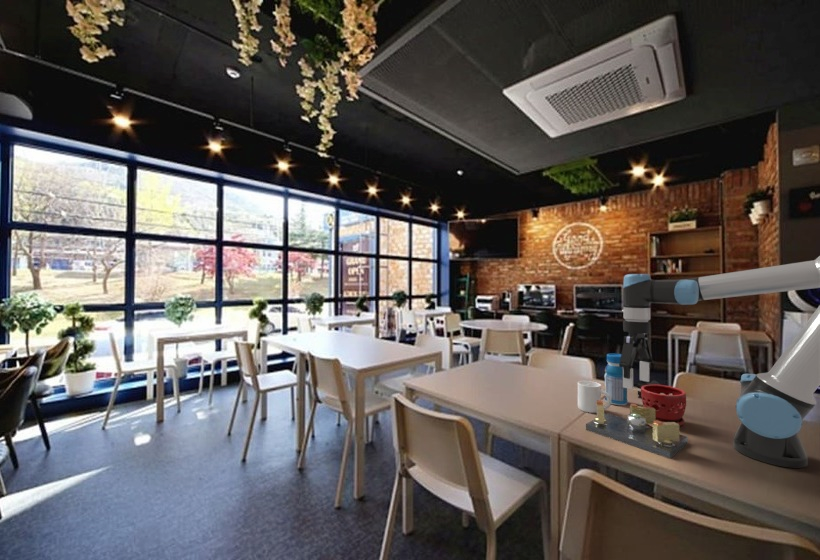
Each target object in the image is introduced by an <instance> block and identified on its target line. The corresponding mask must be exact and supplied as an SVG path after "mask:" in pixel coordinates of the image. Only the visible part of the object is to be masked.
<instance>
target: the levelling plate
mask: <svg viewBox="0 0 820 560" xmlns="http://www.w3.org/2000/svg"><path fill="white" fill-rule="evenodd" d="M604 418H605V419H606V423H605V424H600V423H597V422H595V419H593V420H591V421H589V422H587V423H585V431H588V430H589V431H588V432H591V431H592V433H594V432H595V434H597V435H600V436H602V437H605V438H609V437H610V438H609V439H611V438H613V439H612V440H614V439H615V441H617V440H618V441H617V442H620V441H621V442H620V443H623V442H624V444H626V443H627V444H626V445H629V446H633V447H635V448H639V449H641V450H643V451H646V452H649V453H653V454H655V455H659V456H662V457H664V458H667V459H672V458H673V457H674V456H676V454H677V453H679V451H681V450H682V449H683V448H684V447H685V446H687V445H688V442H689V441H688V440H689V436H687V435H683V434H681V433H679V441H673V444H672V445H666V444H663V443H661V442H657V441H655V440H653V425H651V424H648V426H646V418H645V417H644V416H641V415H640V414H638V413H632V414H630V413H628V414H627V418H624V417H622V416H619V415H614V414H611V413H608V412H607V413H604Z"/></svg>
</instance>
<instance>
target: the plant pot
mask: <svg viewBox="0 0 820 560" xmlns="http://www.w3.org/2000/svg"><path fill="white" fill-rule="evenodd" d="M640 391H641V397H642V399H641V400H642V401H641V402H642V405H643V406H642V407H651V408H654V409H655V421H660V422H675V423H677V424H679V427H681V426H682V425H684V424H685V419H684V418H683V417H684V415H685V411H686V407H687V393H686V392H685V390H682V389H681V388H678V387H674V386H670V385H663V384H660V385H644V386H642V387H641V389H640ZM653 392H656V393H653Z"/></svg>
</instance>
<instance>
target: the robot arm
mask: <svg viewBox="0 0 820 560" xmlns="http://www.w3.org/2000/svg"><path fill="white" fill-rule="evenodd" d="M622 283H623V286H622V289H623V290H622V294H623V295H622V296H623V297H622V298H623V301H622V302H623V303H622V304H623V306H622V307H623V309H622V310H621V312H622V313H623V317H622V319H624V320H623V322H622V327H623V328H622V329H623V332H625V333H628V335H627V336H626V335H625V336H623V343H622V344H623V345H622V350H621V353H620V354H621V359H620V364H619V366H620V367H623V387H624V388H627V390H628V389H629V390H634V368H632V367H633V365H634V361H635V358H636V354H637V353H638V356H639V359H640V361H639V381H647V382H649V381H650V363H653V362H654V360H653V355H652V349H651V345H650V339H649V337H650V336H649V333H651V321H650V320H651V304H665V305H667V304H668V305H681V306H685V305H696V304H697V303H698V302H701V301H707V300H716V299H724V298H726V299H727V298H734V297H744V296H745V297H746V296H755V295H763V294H771V293H772V294H773V293H774V294H775V293H782V292H790V291H801V290H810V289H812V290H813V289H819V288H820V255H819V256H818V257H816V258H815V259H814V260H806V261H800V262H792V263H787V264H781V265H780V264H779V265H773V266H767V267H761V268H760V267H759V268H753V269H746V270H739V271H738V270H737V271H733V272H726V273H720V274H714V275H713V274H711V275H705V276H698V277H691V278H685V279H652V278H651V274H649V273H628V274H625V275H624V276H623V282H622ZM739 383H740V393H739V396H738V399H737V401H736V403H735V411H736V415H737V417H738V420H740V423H739V425H738V428H737V430H736V432H735V434H734V436H733V440H732V441H733V442H732V447H733V449H734V450H736V451H737V452H739V453H740V454H742V455H744V456H746V457H749V458H751V459H753V460H756V461H758V462H759V461H760V462H761V463H766V464H769V465H773V466H778V467H782V468H783V467H784V468H789V469H790V468H793V469H800V468H801V469H802V468H803V469H804V468H806V467H808V462H809V461H808V458H809V457H808V454H807V452H806V450H805V448H804V445H803V443H802V441H801V437H800V436H799V432H800V430H801V428H802V426H803V420H804V419H805V418H806V417H807V416H808V414H809V413H810V412H811V411H812V410H813V409H814V407H815V406H816V405H817V404H818V403H817V401H816V398H815V396H814V393H815V392H816V390H817V389H818V388H819V387H820V305H818V307H817V308H816V309H815V311H813V314H812V315H811V316H810V317H809V319H808V320H807V322H805V324H804V325H803V327H802V328H801V329H800V330H799V332H798V333H797V334H796V336H795V337H794V338H793V339H792V341H791V342H790V343H789V344H788V346H787V347H786V349H785V350H784V351H783V352H782V353H781V355H780V357H779V358H778V359H777V360H776V362H775V363H774V365H773V366H772V367H771V368H770V370H769V371H768V372H767V371H766V372H761V373H757V374H755V373H743V374H742V375H741V377H740V381H739Z"/></svg>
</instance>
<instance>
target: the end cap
mask: <svg viewBox="0 0 820 560" xmlns="http://www.w3.org/2000/svg"><path fill="white" fill-rule="evenodd" d="M644 385H661V384H660V382H658V381H656V380H652V381H650V380H649V382H647V381H642V380H640V382H638V383H637V389H639V390H638V391H637V398H638V399H641V400H642V397H641V387H642V386H644ZM653 393H656V392H653Z"/></svg>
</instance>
